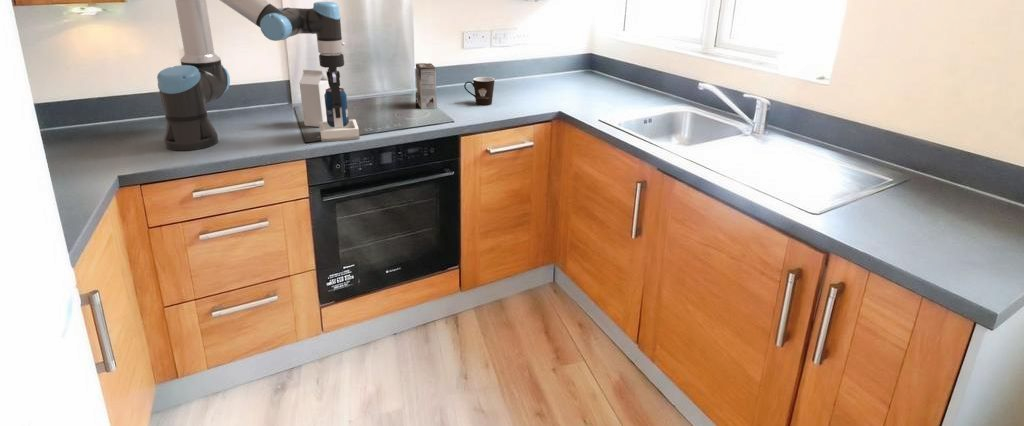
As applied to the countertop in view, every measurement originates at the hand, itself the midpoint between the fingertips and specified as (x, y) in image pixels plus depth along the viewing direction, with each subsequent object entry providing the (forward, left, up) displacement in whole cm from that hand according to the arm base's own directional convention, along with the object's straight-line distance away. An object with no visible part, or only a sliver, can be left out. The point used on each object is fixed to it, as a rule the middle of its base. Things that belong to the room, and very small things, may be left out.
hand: (338, 123), depth 200 cm
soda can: (0, 0, -1) cm, 1 cm away
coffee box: (+36, +32, -4) cm, 48 cm away
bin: (0, 0, -4) cm, 4 cm away
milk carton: (-6, +16, -4) cm, 18 cm away
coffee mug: (+58, +31, -4) cm, 66 cm away
